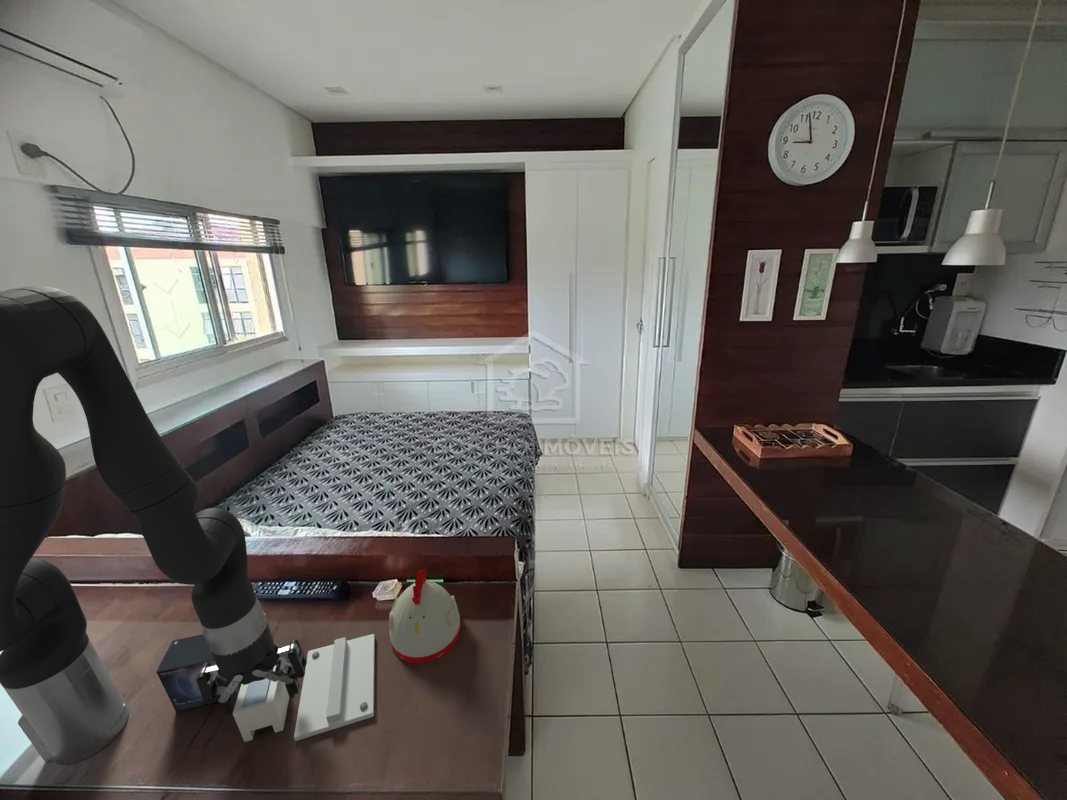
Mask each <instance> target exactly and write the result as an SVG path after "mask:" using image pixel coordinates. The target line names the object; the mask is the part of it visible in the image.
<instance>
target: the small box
mask: <svg viewBox="0 0 1067 800" xmlns="http://www.w3.org/2000/svg"><path fill="white" fill-rule="evenodd" d="M204 663H210V664H211V665H212V666H215V665H216V662H215V660H214V658H213V656H212V653H211V651H210V649H209V646H208V644H207V642H206V640H205V637H204V634H203V633H202V634H197V635H193V636H187V637H184V638H177V639H173V640H172V641H171V643H170V644H169V647H168V648H167V650H166V651H165V654H164V656H163V657H162V660H161V661H160V663H159V665H158V667H157V669H156V670H155V673H156V675H157V676H158V678H159V681H160V682H161V684H162V687H163V689H164V692H166V694H167V696H168V698H169V701H170V703H171V705H172V707H173V709H174V712H176V713H178V712H183V711H187V710H190V709H196V708H199V707H204V706H207V705H213V704H217V703H220V702H219V701H218V700H216V701H213V702H212V703H211V704H205V703H204V701H203V698H202V695H201V692H200V689H199V687H198V684H197V681H196V679H197V677H198V675H199V672H200V670H201V667H202V665H203V664H204ZM216 680H217V683H218V687H220V686H224V684H225V683H226V681H227V679H225V678H223V677H221V676H219V675H218V674H217V675H216ZM240 687H241V684H238V686H237V687H236V689H235V690H236V693H237V695H238V694H239V691H240Z"/></svg>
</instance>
